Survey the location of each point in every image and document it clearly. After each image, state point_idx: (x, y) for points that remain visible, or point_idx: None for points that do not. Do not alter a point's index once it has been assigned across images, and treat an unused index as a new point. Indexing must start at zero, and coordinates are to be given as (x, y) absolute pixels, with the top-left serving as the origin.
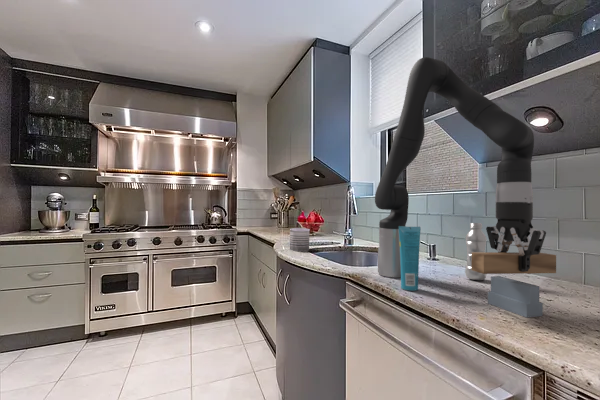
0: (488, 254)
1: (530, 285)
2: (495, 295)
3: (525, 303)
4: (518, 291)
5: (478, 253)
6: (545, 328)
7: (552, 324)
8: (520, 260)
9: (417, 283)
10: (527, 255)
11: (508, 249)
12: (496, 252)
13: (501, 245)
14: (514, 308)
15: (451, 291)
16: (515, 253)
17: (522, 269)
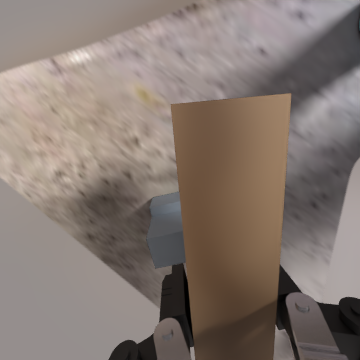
0: (196, 159)
1: (161, 251)
2: None
3: (156, 211)
4: (176, 221)
5: (238, 113)
6: (102, 190)
7: (122, 218)
8: (175, 295)
9: None
10: (152, 336)
11: (292, 350)
12: (276, 267)
13: (304, 339)
14: (175, 195)
15: (331, 146)
16: (241, 338)
17: (172, 271)
